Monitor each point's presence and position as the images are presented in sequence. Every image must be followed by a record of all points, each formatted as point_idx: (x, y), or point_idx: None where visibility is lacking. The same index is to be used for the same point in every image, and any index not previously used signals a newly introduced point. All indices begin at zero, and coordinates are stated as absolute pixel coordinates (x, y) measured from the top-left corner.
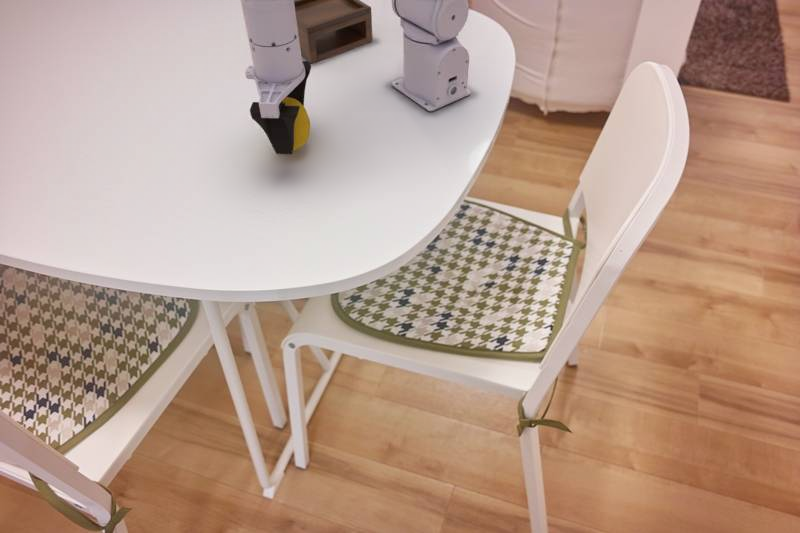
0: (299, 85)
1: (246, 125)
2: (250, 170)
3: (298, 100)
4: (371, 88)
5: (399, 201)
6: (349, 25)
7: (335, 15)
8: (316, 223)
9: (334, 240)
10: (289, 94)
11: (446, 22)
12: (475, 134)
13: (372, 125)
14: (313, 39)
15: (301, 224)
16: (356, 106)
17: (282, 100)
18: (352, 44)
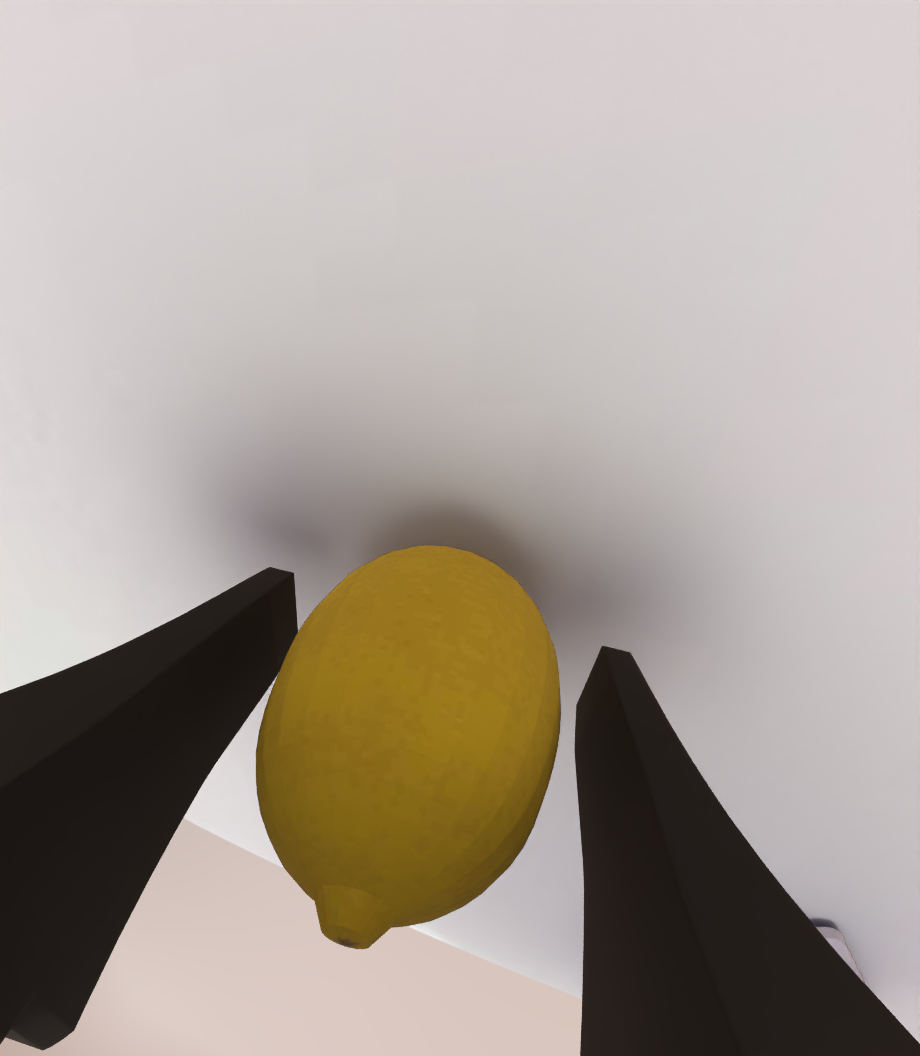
0: (596, 1005)
1: (812, 325)
2: (302, 375)
3: (593, 832)
4: (855, 880)
5: (212, 777)
6: None
7: None
8: (65, 602)
9: (23, 632)
10: (616, 858)
11: None
12: (477, 942)
13: (578, 820)
14: None
15: (43, 562)
16: (736, 818)
17: (318, 914)
18: None
